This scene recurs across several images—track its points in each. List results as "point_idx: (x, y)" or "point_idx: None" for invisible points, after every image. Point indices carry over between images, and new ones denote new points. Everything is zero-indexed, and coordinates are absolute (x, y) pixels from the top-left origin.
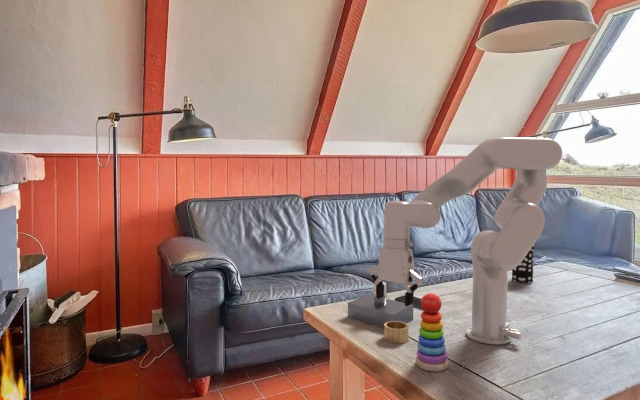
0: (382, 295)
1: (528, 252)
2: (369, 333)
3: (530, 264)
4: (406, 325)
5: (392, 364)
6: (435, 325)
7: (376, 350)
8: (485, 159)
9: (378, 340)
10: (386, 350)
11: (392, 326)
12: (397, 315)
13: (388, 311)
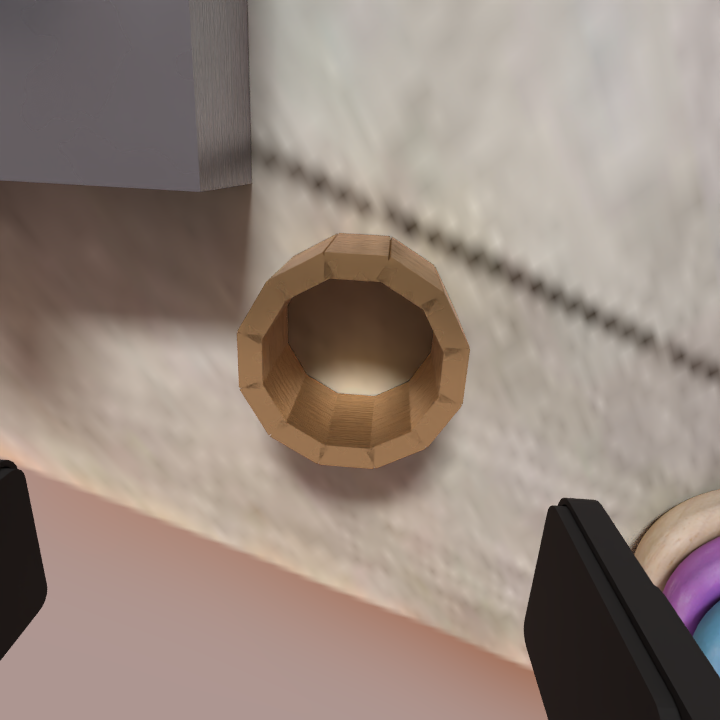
0: (11, 520)
1: None
2: (151, 360)
3: None
4: (433, 318)
5: (513, 638)
6: None
7: (353, 552)
8: None
9: None
10: (402, 524)
11: (285, 303)
12: (206, 101)
13: (87, 131)
